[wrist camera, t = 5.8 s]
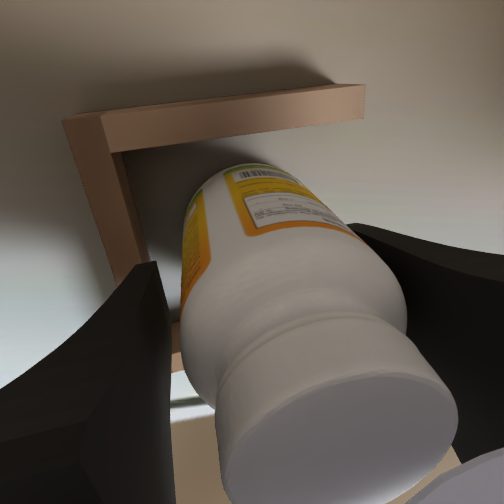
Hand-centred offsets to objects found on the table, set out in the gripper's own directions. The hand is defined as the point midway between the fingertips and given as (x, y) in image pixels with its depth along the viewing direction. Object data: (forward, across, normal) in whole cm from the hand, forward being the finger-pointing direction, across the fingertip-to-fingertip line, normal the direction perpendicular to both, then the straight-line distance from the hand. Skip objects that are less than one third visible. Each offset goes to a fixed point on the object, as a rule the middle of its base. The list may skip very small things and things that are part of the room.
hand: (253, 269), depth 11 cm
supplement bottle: (+3, -1, 0) cm, 3 cm away
